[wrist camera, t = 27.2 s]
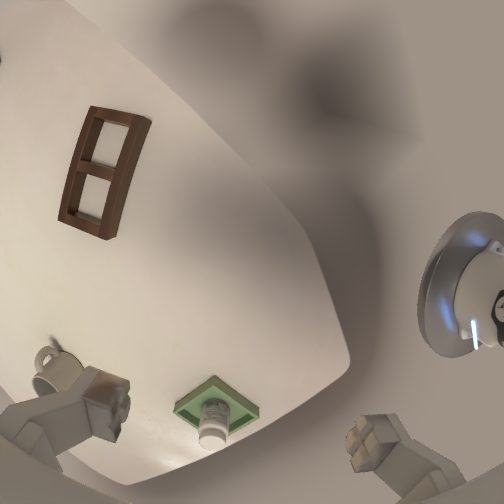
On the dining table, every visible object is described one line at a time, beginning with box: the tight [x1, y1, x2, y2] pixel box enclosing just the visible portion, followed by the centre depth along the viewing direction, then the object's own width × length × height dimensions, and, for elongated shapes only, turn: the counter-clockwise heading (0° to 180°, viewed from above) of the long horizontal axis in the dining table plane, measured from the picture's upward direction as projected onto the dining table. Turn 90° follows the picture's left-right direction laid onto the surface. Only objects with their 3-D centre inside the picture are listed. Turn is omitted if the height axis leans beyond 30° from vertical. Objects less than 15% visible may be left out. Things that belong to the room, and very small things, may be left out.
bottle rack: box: [58, 106, 151, 240], centre depth 32 cm, size 9×16×3 cm, turn 160°
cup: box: [32, 346, 84, 397], centre depth 36 cm, size 7×10×9 cm
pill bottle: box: [198, 399, 230, 451], centre depth 38 cm, size 5×5×8 cm
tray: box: [173, 376, 259, 436], centre depth 41 cm, size 10×10×2 cm
